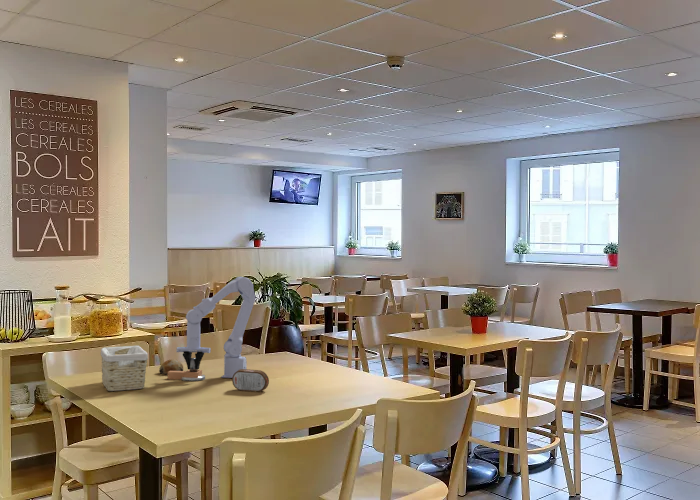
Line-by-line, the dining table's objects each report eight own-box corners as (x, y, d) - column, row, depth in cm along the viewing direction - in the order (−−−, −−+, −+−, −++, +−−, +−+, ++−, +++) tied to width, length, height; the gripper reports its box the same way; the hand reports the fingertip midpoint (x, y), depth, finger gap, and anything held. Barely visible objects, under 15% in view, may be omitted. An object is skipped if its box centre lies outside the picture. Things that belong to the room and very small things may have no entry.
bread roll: (175, 383, 293) (183, 367, 293) (154, 373, 293) (162, 357, 293) (181, 379, 303) (188, 363, 303) (161, 369, 303) (168, 353, 303)
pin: (197, 374, 286) (197, 357, 286) (194, 375, 283) (195, 359, 283) (191, 373, 286) (191, 357, 286) (188, 375, 283) (188, 358, 283)
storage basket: (99, 381, 278) (99, 346, 278) (139, 378, 285) (139, 344, 285) (105, 393, 256) (105, 355, 256) (148, 389, 264) (148, 352, 263)
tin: (269, 391, 262) (269, 370, 262) (266, 393, 259) (266, 371, 259) (234, 388, 266) (234, 368, 266) (230, 390, 263) (231, 369, 263)
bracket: (202, 377, 287) (202, 370, 287) (197, 380, 282) (197, 372, 282) (171, 376, 289) (171, 369, 289) (166, 379, 283) (166, 371, 283)
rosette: (208, 377, 289) (208, 374, 289) (200, 381, 279) (200, 378, 279) (186, 376, 290) (186, 373, 290) (177, 381, 280) (177, 378, 280)
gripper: (173, 338, 282) (173, 370, 282) (207, 339, 280) (206, 371, 280) (179, 336, 289) (179, 367, 289) (212, 337, 287) (211, 368, 287)
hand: (193, 369), depth 285 cm, fingers closed on pin, 3 cm apart
